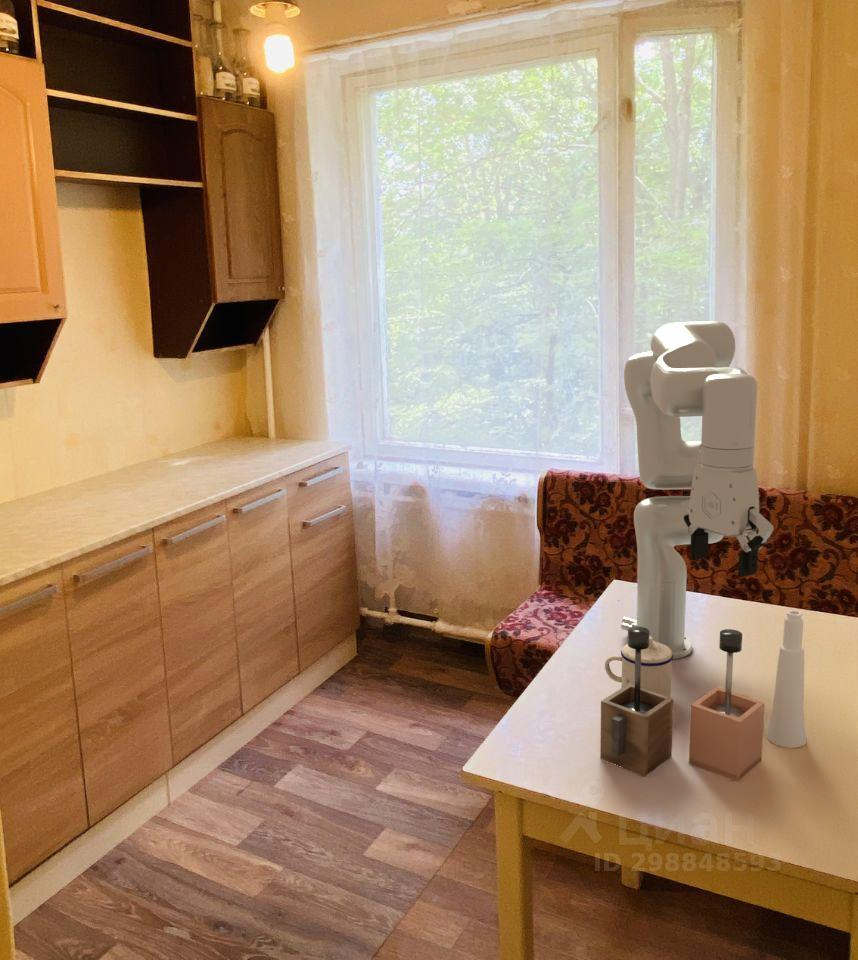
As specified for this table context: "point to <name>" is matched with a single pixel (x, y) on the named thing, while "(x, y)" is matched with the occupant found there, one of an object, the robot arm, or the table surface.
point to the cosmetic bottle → (789, 687)
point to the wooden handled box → (636, 731)
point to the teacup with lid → (646, 667)
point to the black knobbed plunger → (729, 669)
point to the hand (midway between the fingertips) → (722, 566)
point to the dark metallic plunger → (638, 666)
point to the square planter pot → (726, 735)
